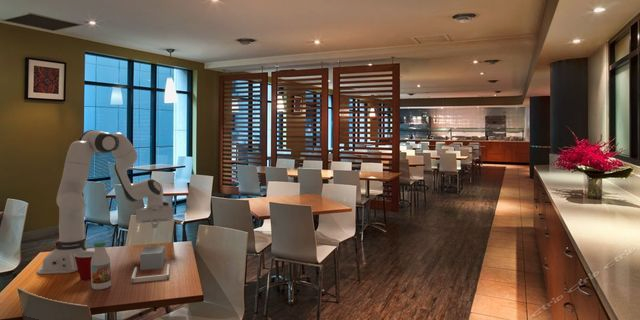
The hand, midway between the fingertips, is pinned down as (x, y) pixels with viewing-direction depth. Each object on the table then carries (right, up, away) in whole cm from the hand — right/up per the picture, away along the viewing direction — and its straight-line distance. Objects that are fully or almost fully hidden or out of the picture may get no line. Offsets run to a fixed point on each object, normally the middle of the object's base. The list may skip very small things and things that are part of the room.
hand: (154, 227), depth 248 cm
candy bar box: (-45, -15, +2) cm, 48 cm away
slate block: (+7, -16, -21) cm, 27 cm away
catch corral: (+12, -17, -36) cm, 42 cm away
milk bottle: (-4, -18, -52) cm, 55 cm away
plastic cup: (-16, -18, -41) cm, 47 cm away
